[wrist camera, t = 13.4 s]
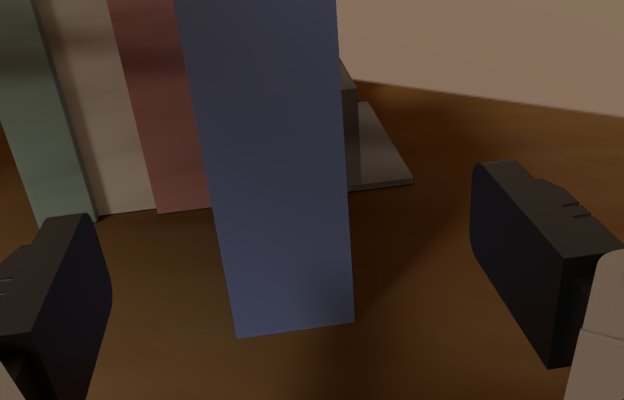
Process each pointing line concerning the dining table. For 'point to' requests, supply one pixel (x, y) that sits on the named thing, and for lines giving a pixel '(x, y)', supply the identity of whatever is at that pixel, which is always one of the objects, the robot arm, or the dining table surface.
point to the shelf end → (127, 111)
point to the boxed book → (273, 157)
